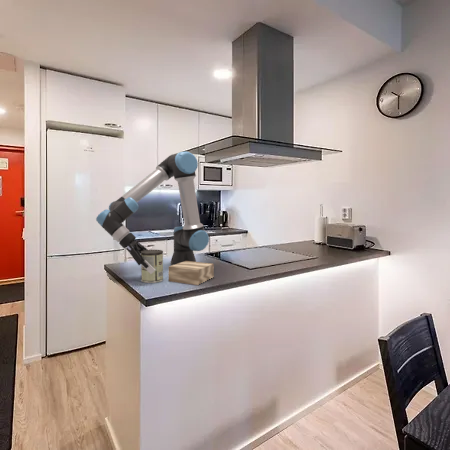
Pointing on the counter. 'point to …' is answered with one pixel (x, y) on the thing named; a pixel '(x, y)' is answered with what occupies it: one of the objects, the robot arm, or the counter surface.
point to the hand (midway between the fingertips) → (156, 269)
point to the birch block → (191, 272)
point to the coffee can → (156, 262)
